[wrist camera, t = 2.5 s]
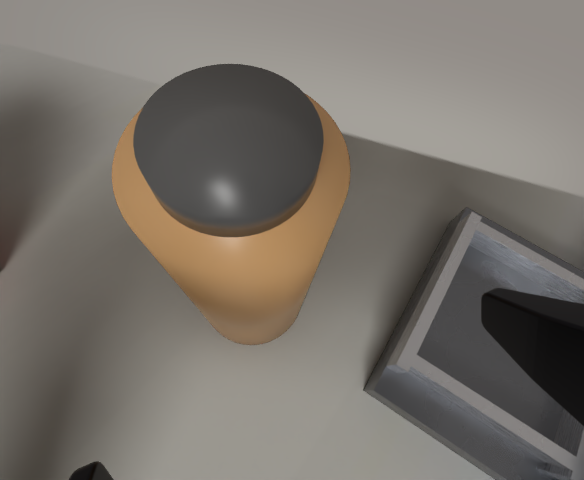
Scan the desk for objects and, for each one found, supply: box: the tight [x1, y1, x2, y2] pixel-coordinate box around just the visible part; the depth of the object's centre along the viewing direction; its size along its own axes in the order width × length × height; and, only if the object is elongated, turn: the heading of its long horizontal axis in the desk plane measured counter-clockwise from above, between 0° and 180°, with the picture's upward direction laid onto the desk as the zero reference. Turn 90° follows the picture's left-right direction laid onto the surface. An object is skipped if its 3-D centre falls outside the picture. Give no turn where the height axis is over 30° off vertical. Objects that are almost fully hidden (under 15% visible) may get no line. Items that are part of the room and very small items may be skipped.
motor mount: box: [364, 207, 584, 480], centre depth 17 cm, size 12×14×7 cm
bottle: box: [112, 64, 350, 345], centre depth 14 cm, size 6×6×14 cm
